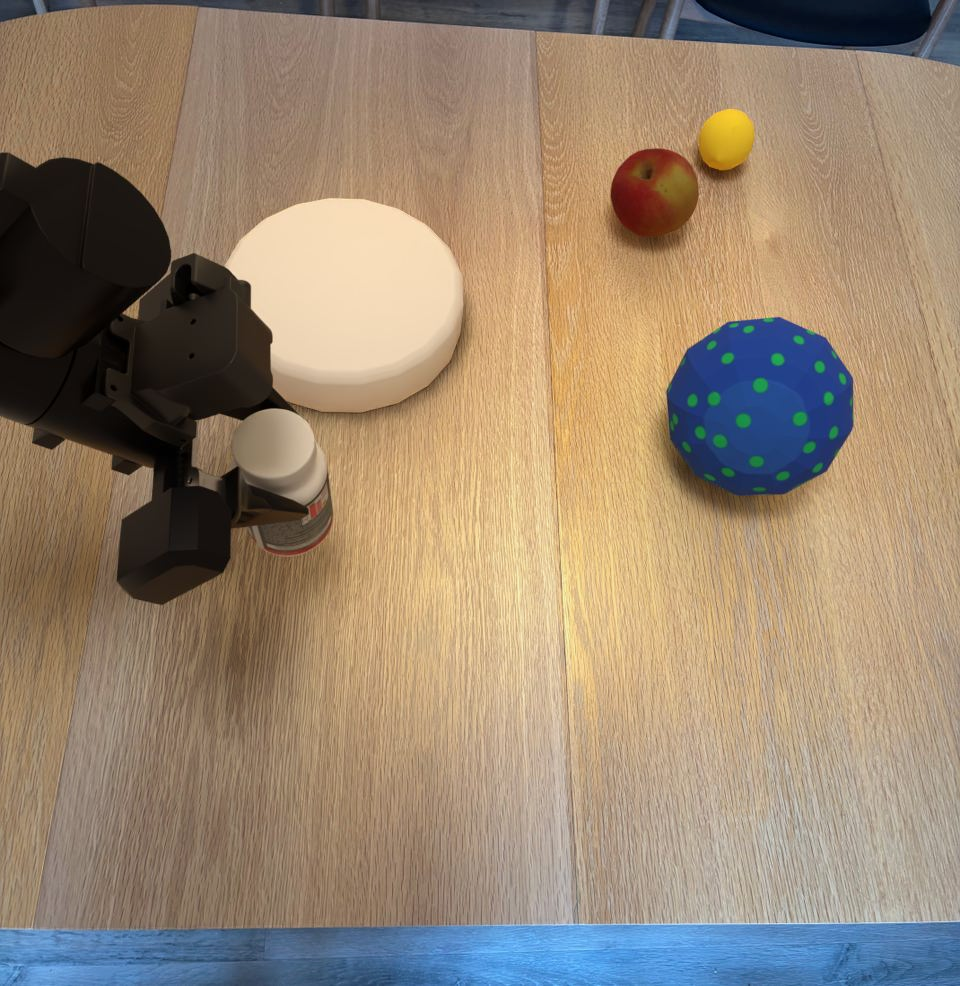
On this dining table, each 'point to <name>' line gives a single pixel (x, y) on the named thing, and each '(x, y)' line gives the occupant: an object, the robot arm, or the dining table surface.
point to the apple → (654, 192)
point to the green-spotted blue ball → (760, 406)
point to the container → (351, 302)
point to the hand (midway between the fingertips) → (303, 470)
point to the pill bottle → (285, 477)
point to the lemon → (726, 139)
